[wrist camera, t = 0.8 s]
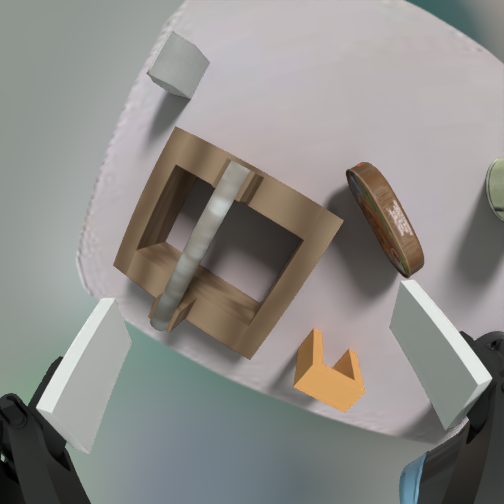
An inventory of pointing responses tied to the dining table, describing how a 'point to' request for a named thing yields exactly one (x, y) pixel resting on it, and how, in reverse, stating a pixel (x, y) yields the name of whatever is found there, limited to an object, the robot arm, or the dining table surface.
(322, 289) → the dining table surface
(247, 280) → the dining table surface
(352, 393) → the orange u-shaped bracket
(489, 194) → the coffee can
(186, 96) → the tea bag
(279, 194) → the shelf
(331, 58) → the dining table surface
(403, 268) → the tin
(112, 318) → the robot arm
